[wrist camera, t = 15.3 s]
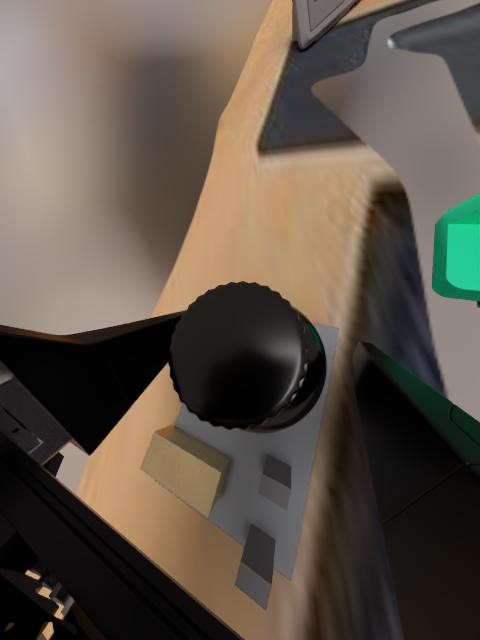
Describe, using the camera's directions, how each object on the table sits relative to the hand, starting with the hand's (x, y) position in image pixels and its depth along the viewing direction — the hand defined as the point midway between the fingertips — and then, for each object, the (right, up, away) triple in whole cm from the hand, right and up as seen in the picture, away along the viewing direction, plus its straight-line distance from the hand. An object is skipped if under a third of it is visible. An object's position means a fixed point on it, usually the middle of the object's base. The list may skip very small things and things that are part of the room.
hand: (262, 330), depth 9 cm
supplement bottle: (+2, -4, +7) cm, 8 cm away
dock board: (0, -8, +8) cm, 11 cm away
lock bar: (-6, -12, +7) cm, 15 cm away
